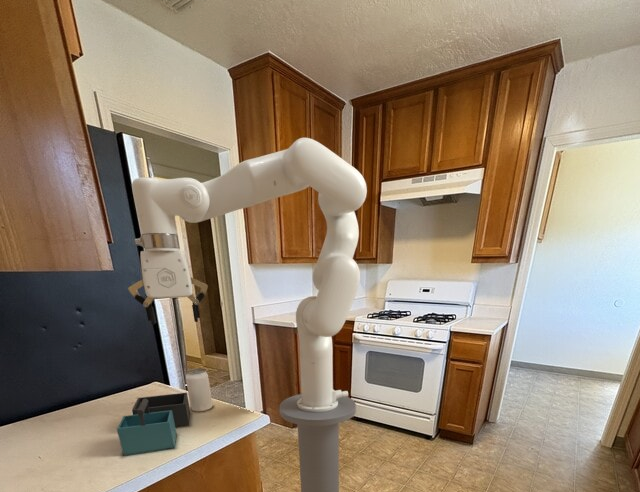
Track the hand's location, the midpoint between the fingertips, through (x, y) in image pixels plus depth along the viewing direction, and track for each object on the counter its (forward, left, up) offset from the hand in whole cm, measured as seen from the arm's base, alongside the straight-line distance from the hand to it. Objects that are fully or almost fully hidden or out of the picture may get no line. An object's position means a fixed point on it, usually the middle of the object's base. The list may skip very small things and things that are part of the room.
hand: (175, 322), depth 86 cm
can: (-2, -15, -28) cm, 32 cm away
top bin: (+10, +7, -28) cm, 31 cm away
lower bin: (+8, -7, -28) cm, 30 cm away
